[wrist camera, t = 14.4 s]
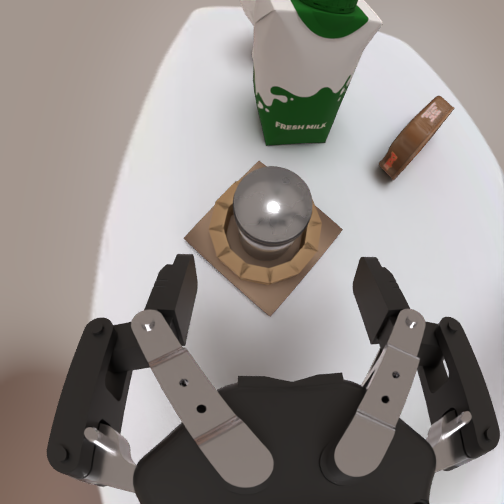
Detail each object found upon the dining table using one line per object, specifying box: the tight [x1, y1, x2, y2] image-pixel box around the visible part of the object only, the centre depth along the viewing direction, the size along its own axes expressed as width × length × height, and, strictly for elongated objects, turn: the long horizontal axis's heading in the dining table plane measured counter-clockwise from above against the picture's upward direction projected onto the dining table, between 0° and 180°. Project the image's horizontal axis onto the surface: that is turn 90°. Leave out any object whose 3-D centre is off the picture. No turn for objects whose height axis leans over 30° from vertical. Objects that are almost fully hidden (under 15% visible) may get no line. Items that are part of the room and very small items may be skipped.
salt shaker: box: [233, 166, 313, 261], centre depth 21 cm, size 5×5×9 cm
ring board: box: [184, 161, 343, 316], centre depth 25 cm, size 11×11×4 cm
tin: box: [379, 96, 454, 180], centre depth 25 cm, size 15×3×8 cm, turn 132°
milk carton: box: [253, 0, 383, 146], centre depth 20 cm, size 9×9×20 cm
